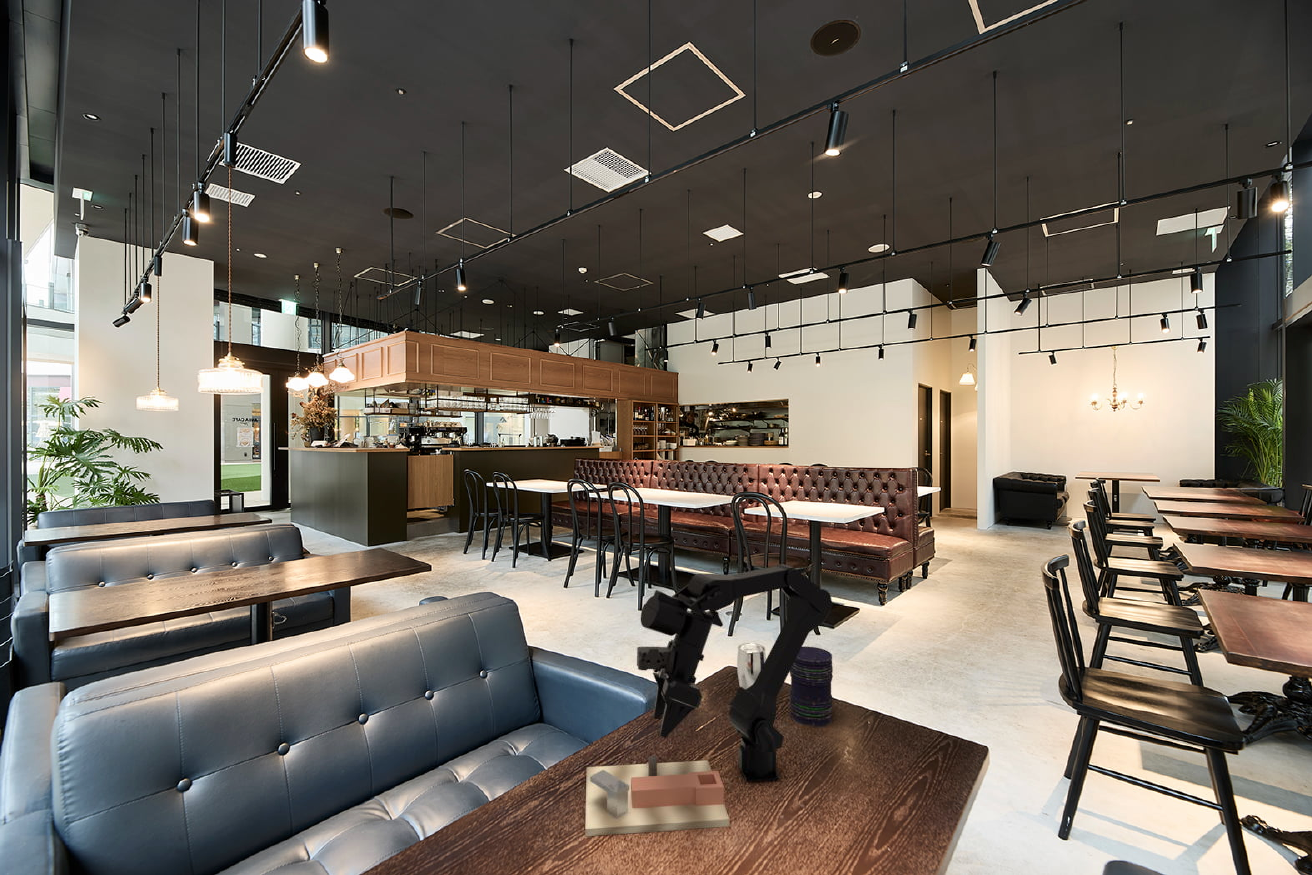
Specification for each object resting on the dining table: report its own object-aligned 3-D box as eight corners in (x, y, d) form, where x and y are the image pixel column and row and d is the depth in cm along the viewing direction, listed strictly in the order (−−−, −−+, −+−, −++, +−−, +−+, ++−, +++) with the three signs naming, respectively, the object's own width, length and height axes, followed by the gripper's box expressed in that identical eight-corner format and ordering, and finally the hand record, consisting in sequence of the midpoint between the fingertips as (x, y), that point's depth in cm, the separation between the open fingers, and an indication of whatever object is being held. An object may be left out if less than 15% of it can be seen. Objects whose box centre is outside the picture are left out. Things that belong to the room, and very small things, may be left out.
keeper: (603, 794, 102) (603, 769, 102) (629, 811, 97) (629, 785, 97) (590, 801, 100) (590, 776, 100) (616, 819, 95) (616, 792, 95)
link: (717, 786, 104) (717, 770, 104) (723, 804, 99) (723, 786, 99) (630, 792, 102) (630, 775, 102) (632, 809, 97) (632, 792, 97)
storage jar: (782, 709, 138) (782, 647, 138) (818, 705, 140) (818, 644, 140) (802, 729, 128) (802, 663, 128) (841, 724, 130) (841, 659, 131)
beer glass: (766, 717, 133) (766, 653, 134) (736, 715, 135) (736, 651, 135) (766, 704, 140) (766, 643, 140) (737, 702, 142) (738, 641, 142)
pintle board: (707, 766, 113) (707, 743, 113) (729, 826, 95) (729, 799, 95) (586, 773, 110) (586, 750, 110) (585, 836, 92) (585, 808, 92)
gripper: (643, 618, 114) (615, 696, 111) (655, 636, 95) (620, 730, 92) (695, 638, 114) (667, 715, 111) (715, 659, 96) (683, 753, 93)
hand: (659, 727), depth 102 cm, fingers open, 9 cm apart
